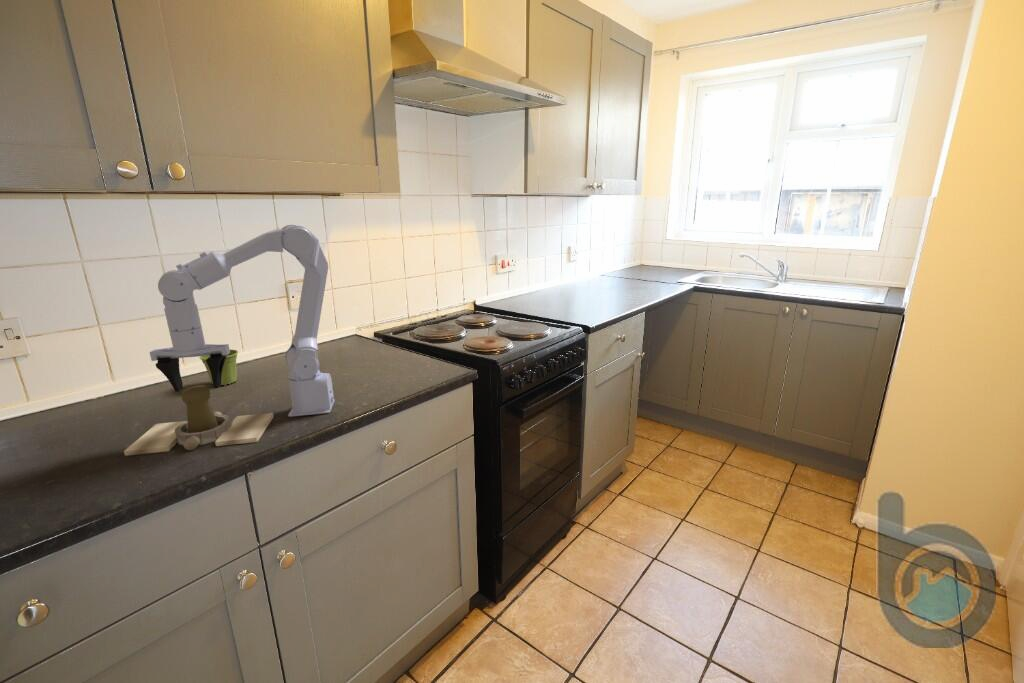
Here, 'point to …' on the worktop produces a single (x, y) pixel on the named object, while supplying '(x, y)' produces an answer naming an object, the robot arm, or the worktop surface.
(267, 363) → the worktop surface
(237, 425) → the hinge base
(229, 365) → the plant pot
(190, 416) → the cork
